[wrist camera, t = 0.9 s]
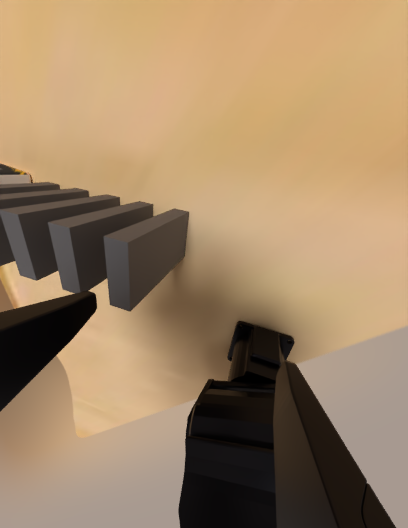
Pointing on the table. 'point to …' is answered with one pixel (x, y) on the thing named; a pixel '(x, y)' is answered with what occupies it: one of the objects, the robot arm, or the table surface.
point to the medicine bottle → (13, 175)
